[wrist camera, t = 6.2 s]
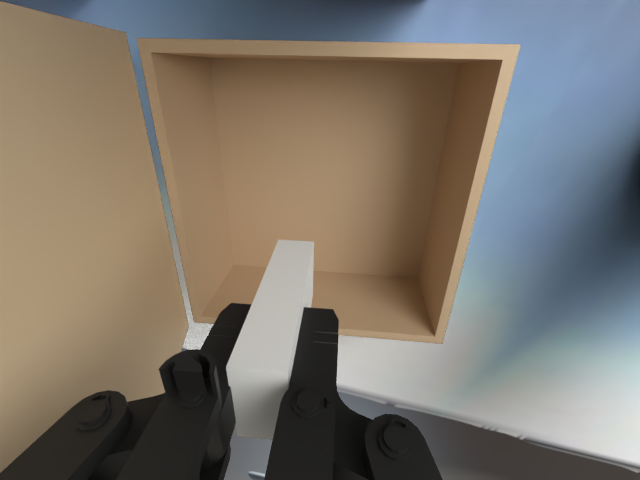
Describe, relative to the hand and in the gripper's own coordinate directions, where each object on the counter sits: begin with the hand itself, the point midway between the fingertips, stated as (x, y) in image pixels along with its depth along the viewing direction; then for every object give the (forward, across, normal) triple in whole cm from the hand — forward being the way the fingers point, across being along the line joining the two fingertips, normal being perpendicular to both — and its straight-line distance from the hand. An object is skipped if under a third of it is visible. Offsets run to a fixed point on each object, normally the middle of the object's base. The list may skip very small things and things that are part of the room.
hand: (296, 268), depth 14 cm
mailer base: (+14, 0, 0) cm, 14 cm away
